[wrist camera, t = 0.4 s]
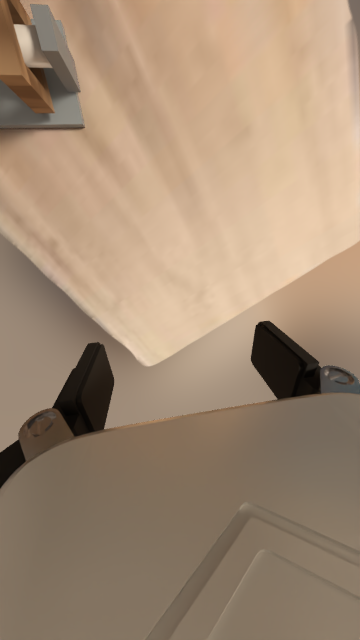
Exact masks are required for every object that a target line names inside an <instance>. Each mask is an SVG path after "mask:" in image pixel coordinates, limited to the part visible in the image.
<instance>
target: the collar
mask: <svg viewBox="0 0 360 640" xmlns="http://www.w3.org/2000/svg"><path fill="white" fill-rule="evenodd" d="M14 24H19V25H32V23H31V20H30V18H29V16H28V14H27V13H26V11H25V9H24V8H23V6H22V4H21V3H20V1H19V0H0V79H1V80H2V81H3V82H4V83H5V84H6V85H7V86H8V87H9V88H10V89H11V90H12V91H13V92H14V93H15V94H16V95H17V96H18V97H19V98H20V99H21V100H22V101H23V102H24V103H26V104H27V105H28V106H29V107H30V108H31V109H32V110H33V111H34V112H35V113H55V111H54V107H53V104H52V100H51V96H50V92H49V88H48V84H47V81H46V77H45V73H44V69H43V68H32V67H27V65H26V64H25V62H24V59H23V56H22V52H21V49H20V45H19V42H18V38H17V35H16V31H15V28H14Z"/></svg>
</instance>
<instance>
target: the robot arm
mask: <svg viewBox="0 0 360 640" xmlns="http://www.w3.org/2000/svg"><path fill="white" fill-rule="evenodd" d="M251 361H252V363H253V365H254V367H255V368H256V370H257V371H258V372H259V374H260V375H261V376H262V378H263V379H264V381H265V382H266V383H267V385H268V386H269V388H270V389H271V390H272V392H273V393H274V395H275V396H276V397H277V399H278V400H272V401H266V402H259V403H253V404H247V405H241V406H235V407H229V408H223V409H217V410H212V411H205V412H199V413H194V414H188V415H182V416H176V417H170V418H164V419H159V420H153V421H147V422H142V423H136V424H130V425H126V426H121V427H115V428H110V429H104V426H105V422H106V418H107V413H108V409H109V404H110V400H111V395H112V391H113V387H114V377H113V374H112V371H111V367H110V364H109V361H108V358H107V354H106V351H105V348H104V345H103V344H101V345H100V343H99V342H97V343H90V344H88V345H87V346H86V348H85V350H84V352H83V354H82V356H81V358H80V360H79V362H78V364H77V366H76V368H74V369H73V370H72V372H71V374H70V375H69V377H68V379H67V381H66V383H65V385H64V387H63V389H62V390H61V392H60V394H59V396H58V398H57V400H56V402H55V403H54V406H53V407H52V408H49V409H45V410H42V411H40V412H38V413H36V414H34V415H33V416H31V417H30V418H29V419H28V420H27V421H26V422H25V423H24V424H23V425H22V427H21V428H20V431H19V433H18V436H19V440H17V441H16V442H14V443H13V444H12V445H10V446H9V447H7V448H6V449H5V450H3V451H2V452H0V640H360V383H359V380H358V378H357V377H356V376H355V375H354V374H353V373H351V372H350V371H347V370H346V369H344V368H341V367H337V366H333V365H331V366H330V365H327V366H323V367H322V368H321V367H320V366H319V365H318V364H319V362H318V361H317V360H316V359H315V358H314V357H312V356H311V355H310V354H309V353H308V352H306V351H305V350H304V349H303V348H302V347H300V346H299V345H298V344H297V343H295V342H294V341H293V340H292V339H291V338H289V337H288V336H287V335H286V334H285V333H283V332H282V331H281V330H280V329H278V328H277V327H276V326H275V325H274V324H273V323H271V322H270V321H263V322H259V323H258V325H256V328H255V334H254V341H253V348H252V355H251Z"/></svg>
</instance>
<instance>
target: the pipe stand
mask: <svg viewBox="0 0 360 640" xmlns="http://www.w3.org/2000/svg"><path fill="white" fill-rule="evenodd" d="M30 6H31V10H32V14H33V18H34V19H30V20H31V23H32V25H19V24H14V28H15V31H16V35H17V38H18V42H19V45H20V49H21V52H22V56H23V59H24V62H25V64H26V65H27V67H32V68H43V69H44V73H45V77H46V81H47V84H48V88H49V92H50V96H51V100H52V104H53V107H54V111H55V113H35V112H34V111H33V110H32V109H31V108H30V107H29V106H28V105H27V104H26V103H24V102H23V101H22V100H21V99H20V98H19V97H18V96H17V95H16V94H15V93H14V92H13V91H12V90H11V89H10V88H9V87H8V86H7V85H6V84H5V83H4V82H3V81H2V80H1V79H0V128H81V127H85V125H84V120H83V116H82V111H81V106H80V102H79V97H78V92H80V87H79V82H78V78H77V73H76V68H75V63H74V59H73V57H72V55H71V53H70V51H69V49H68V45H67V41H66V36H65V31H64V27H63V25H62V23H61V21H60V20H55V19H54V17H53V15H52V13H51V11H50V8H49V6H48V5H37V4H30Z"/></svg>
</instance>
